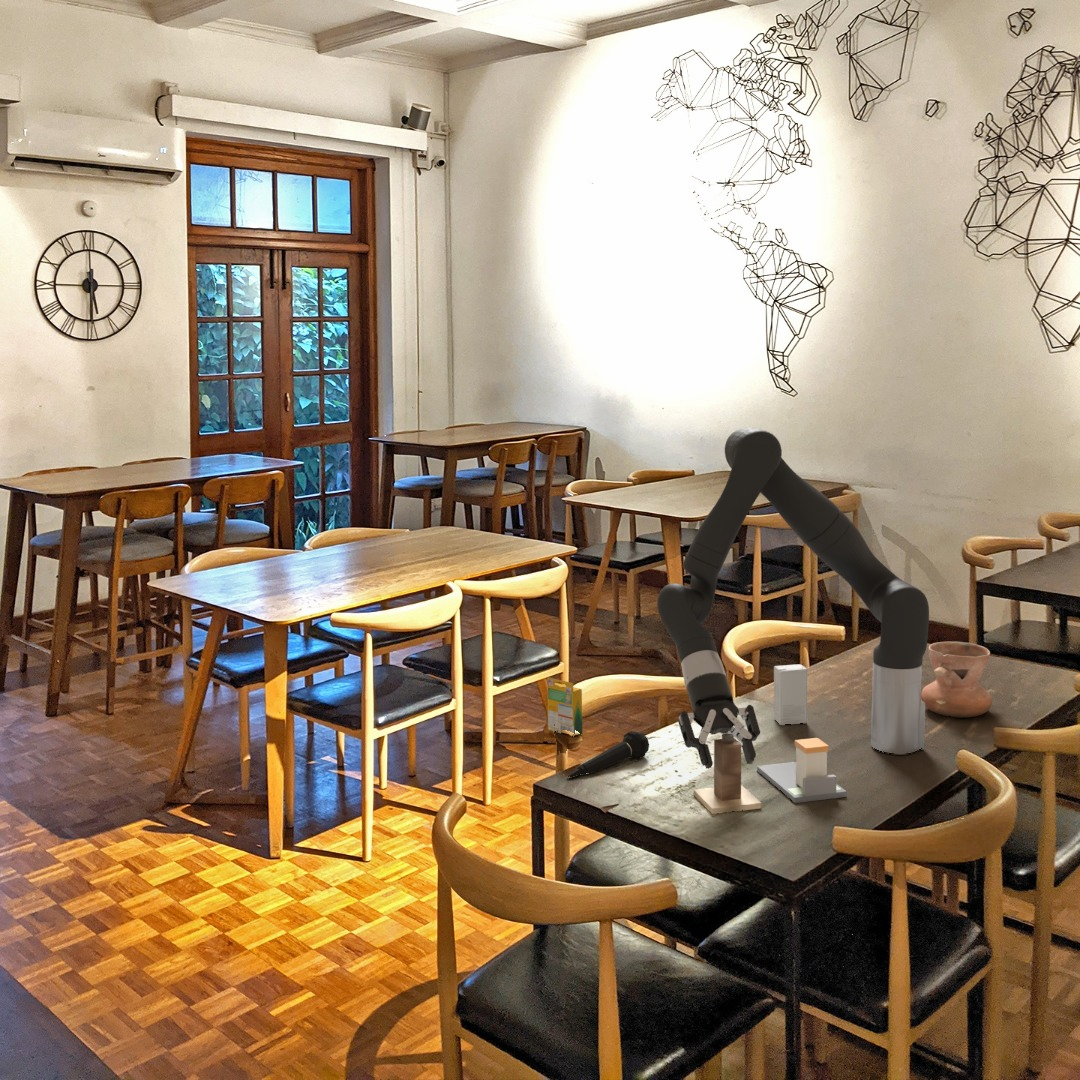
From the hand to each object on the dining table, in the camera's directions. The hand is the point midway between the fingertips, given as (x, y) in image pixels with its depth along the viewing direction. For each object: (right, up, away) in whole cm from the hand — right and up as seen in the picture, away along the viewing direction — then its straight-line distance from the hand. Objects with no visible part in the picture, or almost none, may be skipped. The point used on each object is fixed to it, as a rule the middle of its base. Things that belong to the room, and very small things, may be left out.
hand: (730, 764), depth 206 cm
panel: (+14, -5, +10) cm, 19 cm away
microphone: (-20, -5, +22) cm, 30 cm away
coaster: (0, -7, +3) cm, 8 cm away
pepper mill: (0, -6, +3) cm, 7 cm away
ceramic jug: (+57, +2, +48) cm, 74 cm away
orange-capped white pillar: (+15, -5, +6) cm, 17 cm away
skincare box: (+20, 0, +44) cm, 48 cm away
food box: (-28, -1, +41) cm, 50 cm away
